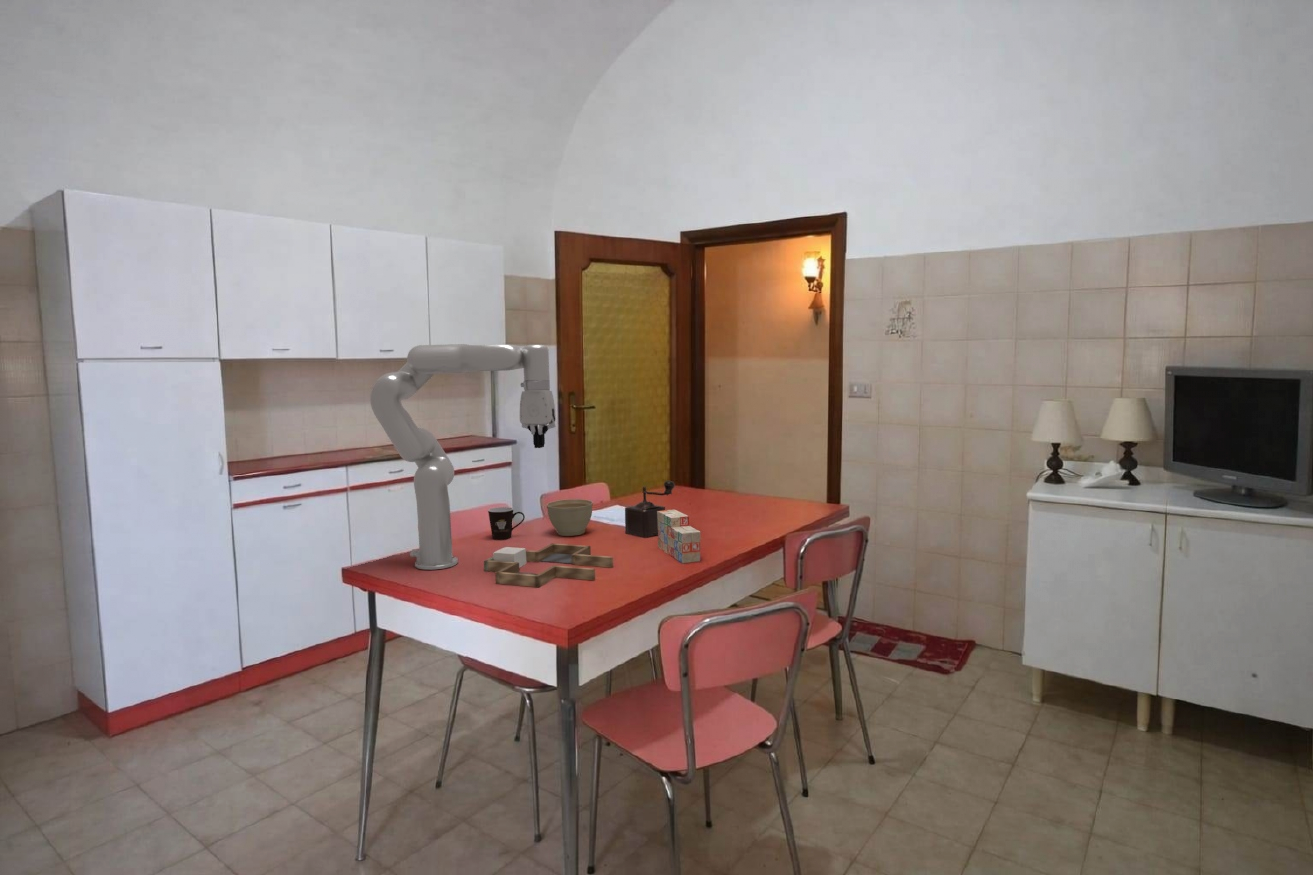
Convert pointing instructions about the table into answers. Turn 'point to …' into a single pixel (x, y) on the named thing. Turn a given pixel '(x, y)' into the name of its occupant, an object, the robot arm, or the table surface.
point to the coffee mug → (502, 522)
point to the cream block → (511, 555)
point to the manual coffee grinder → (645, 515)
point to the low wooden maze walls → (553, 554)
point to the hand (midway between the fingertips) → (539, 447)
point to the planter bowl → (570, 516)
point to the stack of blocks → (678, 536)
